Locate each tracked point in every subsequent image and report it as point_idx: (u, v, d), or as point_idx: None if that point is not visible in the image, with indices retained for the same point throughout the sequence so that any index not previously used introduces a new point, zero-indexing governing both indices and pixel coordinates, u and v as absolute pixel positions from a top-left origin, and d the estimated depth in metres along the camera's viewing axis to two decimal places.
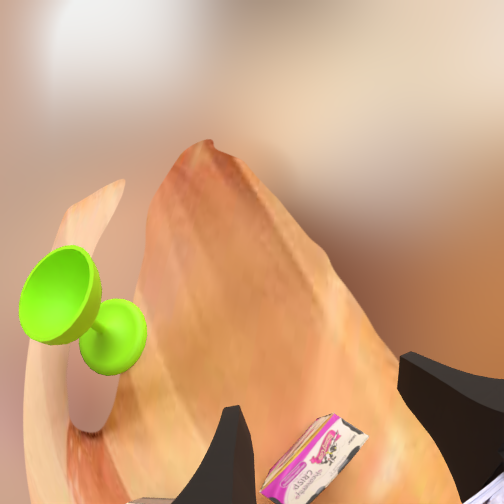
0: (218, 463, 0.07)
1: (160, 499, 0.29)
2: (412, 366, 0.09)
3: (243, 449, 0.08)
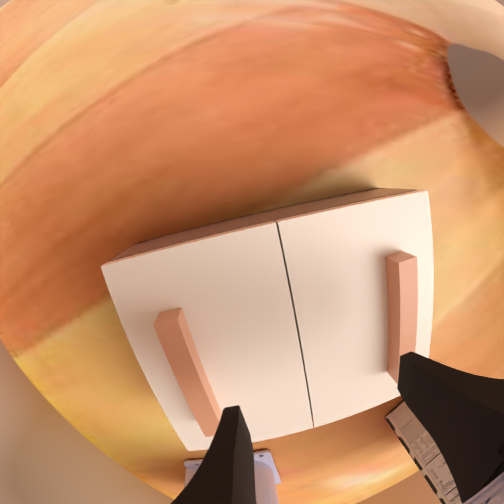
0: (218, 463, 0.07)
1: None
2: (412, 366, 0.09)
3: (243, 449, 0.08)
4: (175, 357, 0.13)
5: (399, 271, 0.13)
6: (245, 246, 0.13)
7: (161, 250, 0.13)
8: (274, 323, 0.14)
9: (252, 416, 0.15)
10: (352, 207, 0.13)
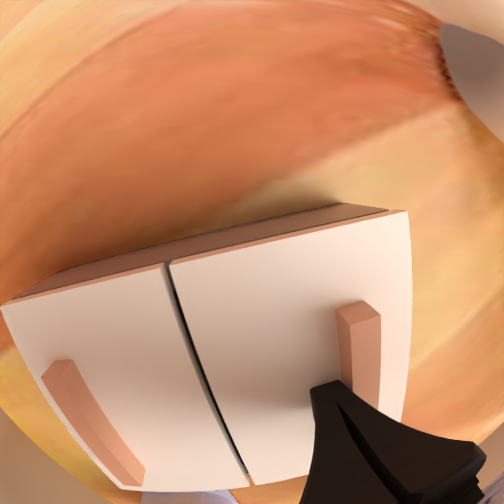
0: (334, 438, 0.07)
1: None
2: None
3: None
4: (68, 412, 0.09)
5: (351, 336, 0.09)
6: (124, 297, 0.09)
7: (43, 296, 0.09)
8: (175, 387, 0.10)
9: (175, 470, 0.12)
10: (281, 242, 0.09)
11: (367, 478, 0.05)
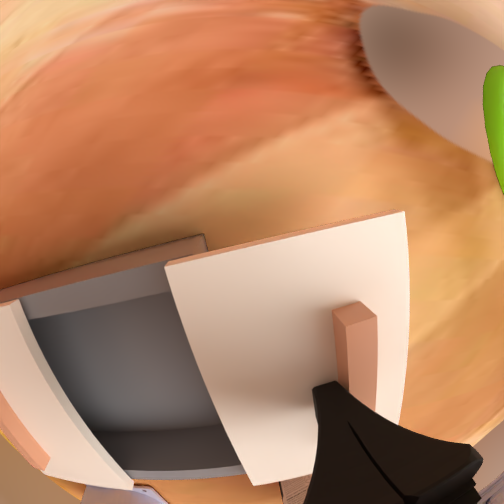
0: (338, 436, 0.07)
1: None
2: None
3: None
4: None
5: (347, 337, 0.09)
6: None
7: None
8: (41, 394, 0.10)
9: (69, 463, 0.11)
10: (276, 243, 0.09)
11: (371, 476, 0.05)
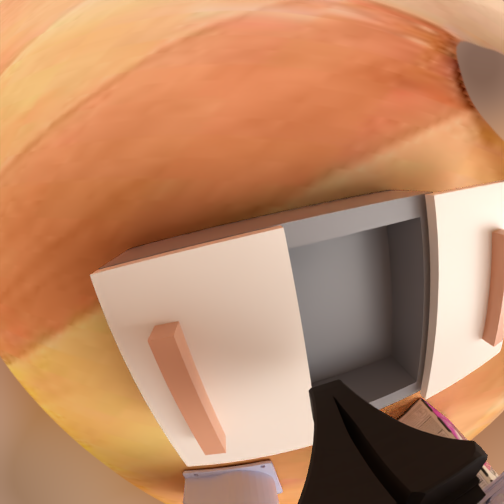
0: (333, 438, 0.07)
1: None
2: None
3: None
4: (172, 375, 0.11)
5: None
6: (249, 253, 0.12)
7: (155, 258, 0.12)
8: (280, 337, 0.13)
9: (255, 432, 0.14)
10: (476, 188, 0.12)
11: (366, 479, 0.05)
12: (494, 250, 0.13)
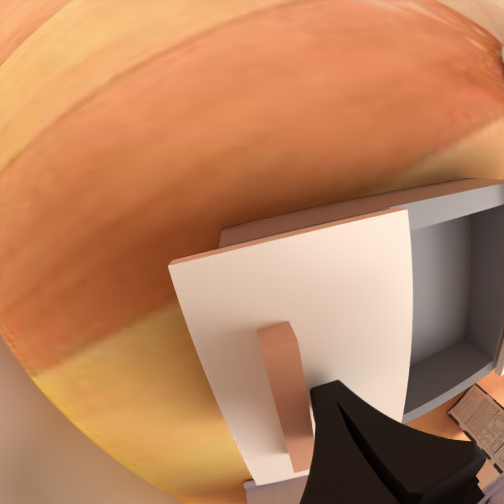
0: (334, 437, 0.07)
1: None
2: None
3: None
4: (284, 389, 0.09)
5: None
6: (375, 237, 0.10)
7: (267, 242, 0.09)
8: (392, 331, 0.11)
9: None
10: None
11: (367, 478, 0.05)
12: None
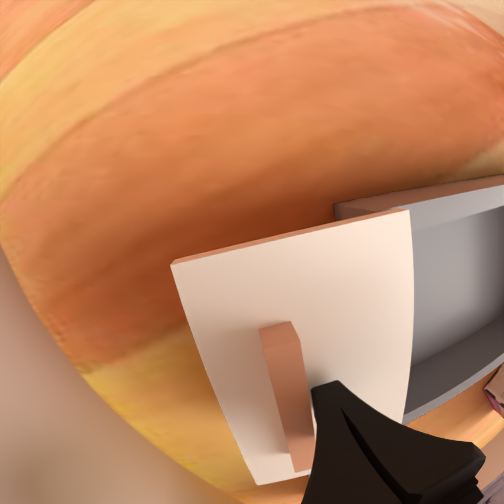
0: (336, 437, 0.07)
1: None
2: None
3: None
4: (286, 389, 0.09)
5: None
6: (377, 237, 0.10)
7: (270, 241, 0.09)
8: (393, 331, 0.11)
9: None
10: None
11: (369, 477, 0.05)
12: None
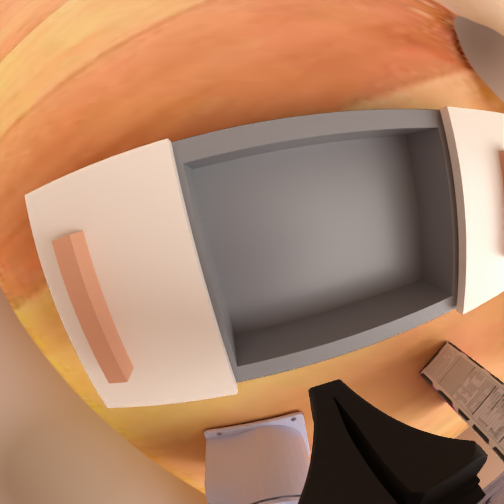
0: (333, 438, 0.07)
1: None
2: None
3: None
4: (69, 278, 0.11)
5: None
6: (138, 163, 0.12)
7: (69, 174, 0.12)
8: (170, 247, 0.13)
9: (162, 367, 0.14)
10: (480, 111, 0.13)
11: (366, 479, 0.05)
12: (503, 167, 0.13)
